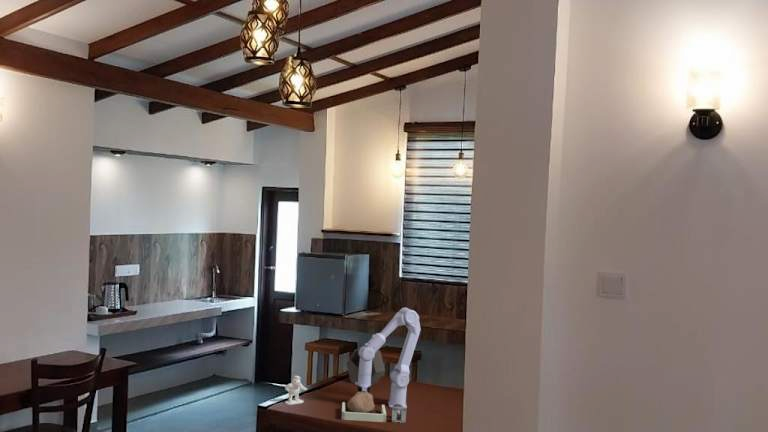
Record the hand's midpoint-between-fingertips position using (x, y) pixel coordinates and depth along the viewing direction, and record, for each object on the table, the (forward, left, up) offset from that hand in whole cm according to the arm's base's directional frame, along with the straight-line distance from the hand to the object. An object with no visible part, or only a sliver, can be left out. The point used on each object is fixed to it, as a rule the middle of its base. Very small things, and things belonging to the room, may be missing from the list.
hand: (362, 403), depth 311 cm
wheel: (+17, +15, -1) cm, 23 cm away
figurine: (+2, -30, -1) cm, 30 cm away
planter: (-43, +2, -1) cm, 43 cm away
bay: (+15, 0, -1) cm, 15 cm away
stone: (+9, 0, -1) cm, 9 cm away
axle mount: (+22, +15, -1) cm, 26 cm away
